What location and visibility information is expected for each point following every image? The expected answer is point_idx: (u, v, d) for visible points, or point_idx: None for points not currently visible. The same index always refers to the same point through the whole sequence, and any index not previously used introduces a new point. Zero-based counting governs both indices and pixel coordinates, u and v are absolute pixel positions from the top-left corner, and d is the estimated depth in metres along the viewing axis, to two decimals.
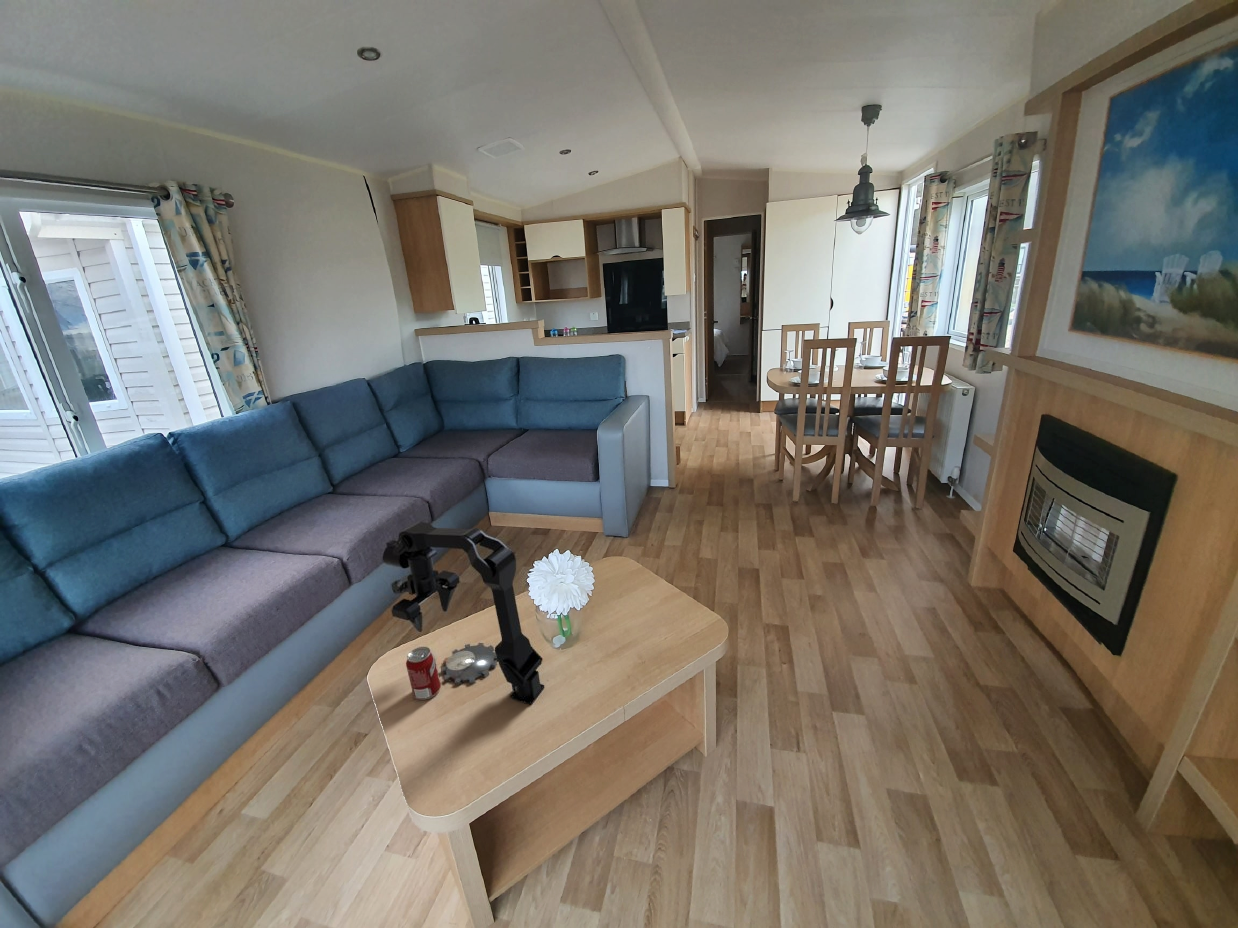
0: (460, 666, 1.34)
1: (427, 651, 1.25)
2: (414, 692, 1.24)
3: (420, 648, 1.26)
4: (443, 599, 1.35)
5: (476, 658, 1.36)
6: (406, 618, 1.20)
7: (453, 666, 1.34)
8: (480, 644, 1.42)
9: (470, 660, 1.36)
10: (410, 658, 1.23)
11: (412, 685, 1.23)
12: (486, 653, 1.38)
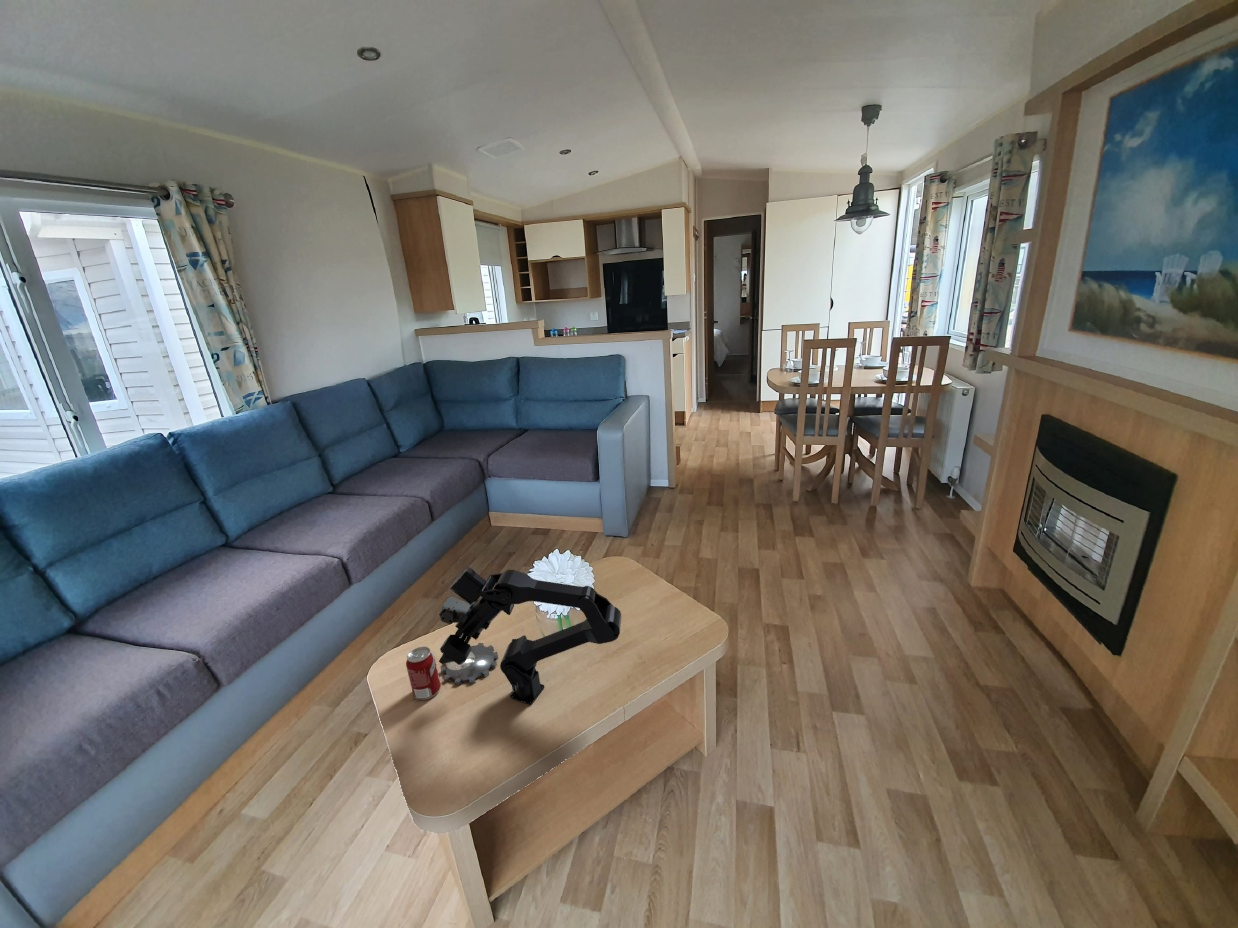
0: (460, 666, 1.34)
1: (427, 651, 1.25)
2: (414, 692, 1.24)
3: (420, 648, 1.26)
4: None
5: (476, 658, 1.36)
6: (458, 662, 1.12)
7: (453, 666, 1.34)
8: (480, 644, 1.42)
9: (470, 660, 1.36)
10: (410, 658, 1.23)
11: (412, 685, 1.23)
12: (486, 653, 1.38)
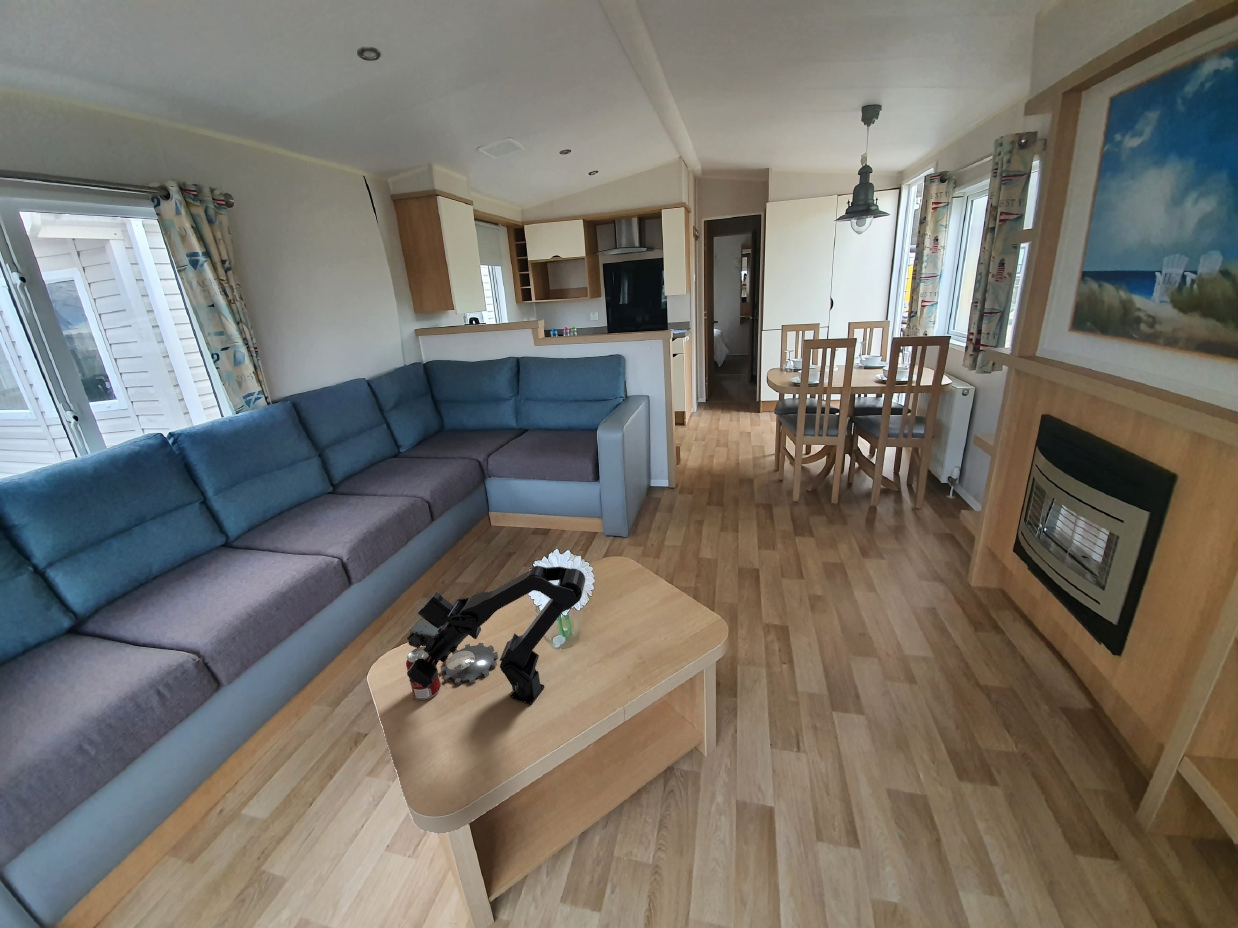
0: (460, 666, 1.34)
1: None
2: (414, 692, 1.24)
3: (420, 648, 1.26)
4: None
5: (476, 658, 1.36)
6: (425, 686, 1.15)
7: (453, 666, 1.34)
8: (480, 644, 1.42)
9: (470, 660, 1.36)
10: (410, 658, 1.23)
11: (412, 685, 1.23)
12: (486, 653, 1.38)
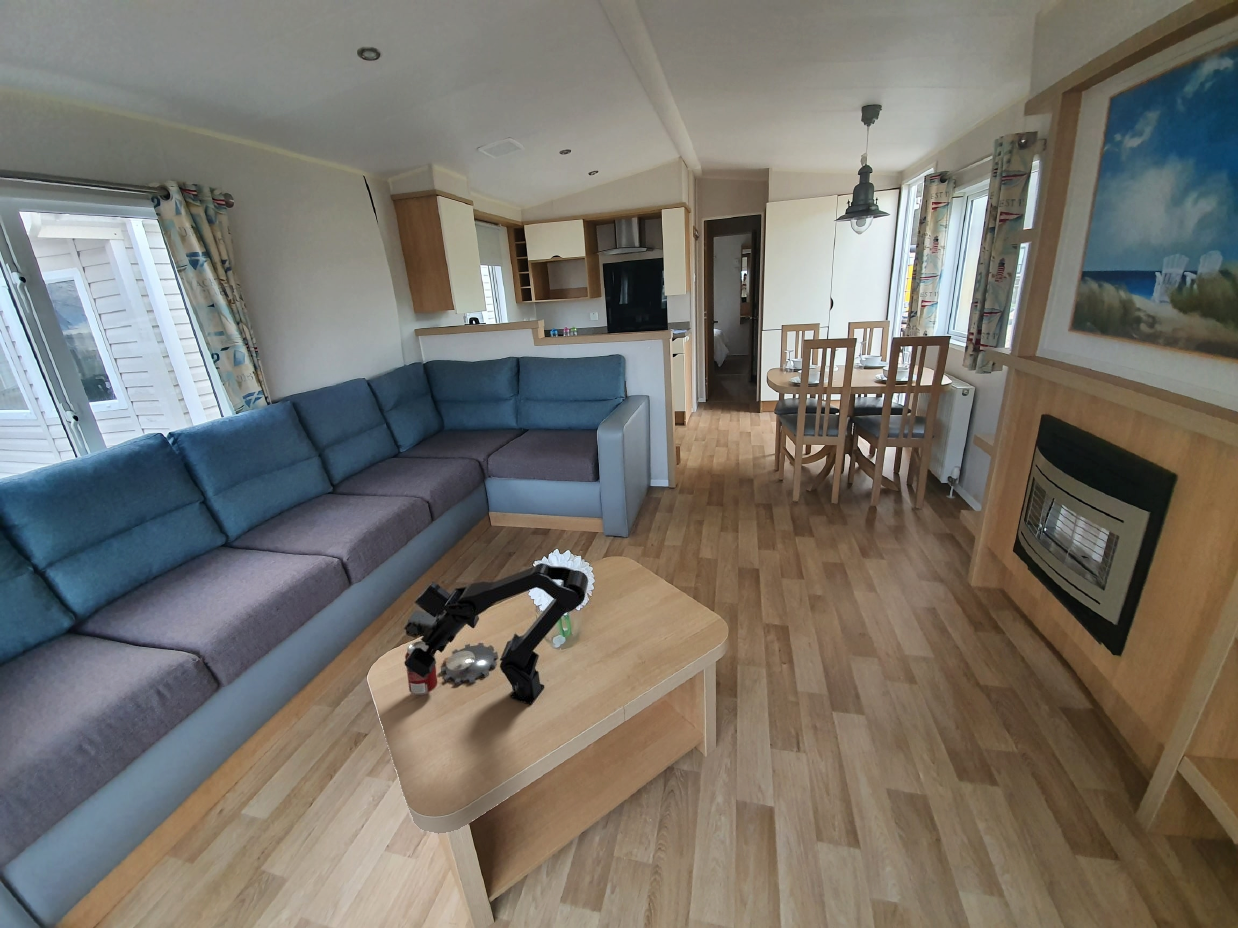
0: (460, 666, 1.34)
1: None
2: (410, 686, 1.23)
3: (421, 642, 1.25)
4: None
5: (476, 658, 1.36)
6: (423, 675, 1.14)
7: (453, 666, 1.34)
8: (480, 644, 1.42)
9: (470, 660, 1.36)
10: (410, 651, 1.22)
11: (409, 679, 1.22)
12: (486, 653, 1.38)
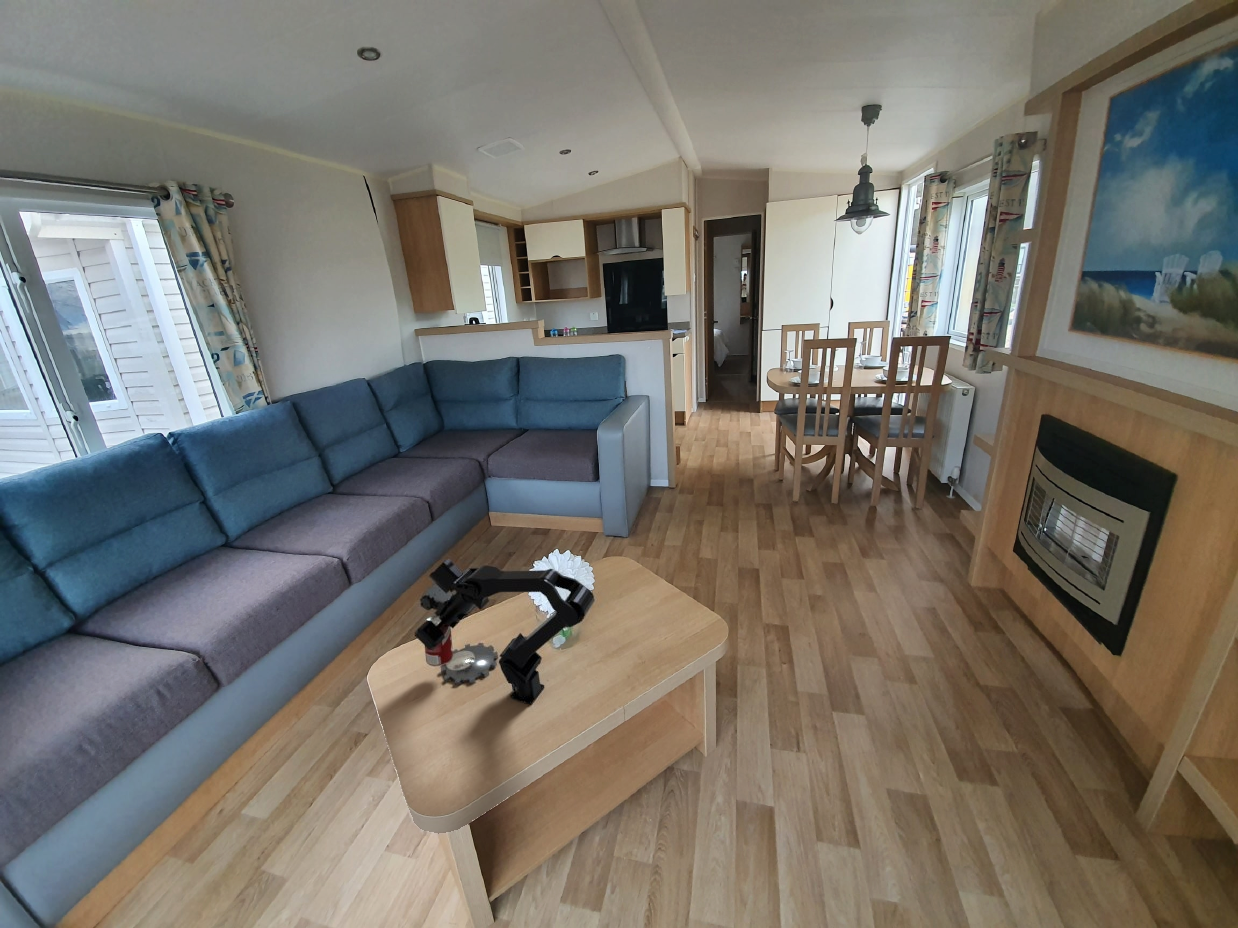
0: (460, 666, 1.34)
1: None
2: (426, 656, 1.28)
3: None
4: None
5: (476, 658, 1.36)
6: (429, 648, 1.17)
7: (453, 666, 1.34)
8: (480, 644, 1.42)
9: (470, 660, 1.36)
10: None
11: (425, 649, 1.27)
12: (486, 653, 1.38)
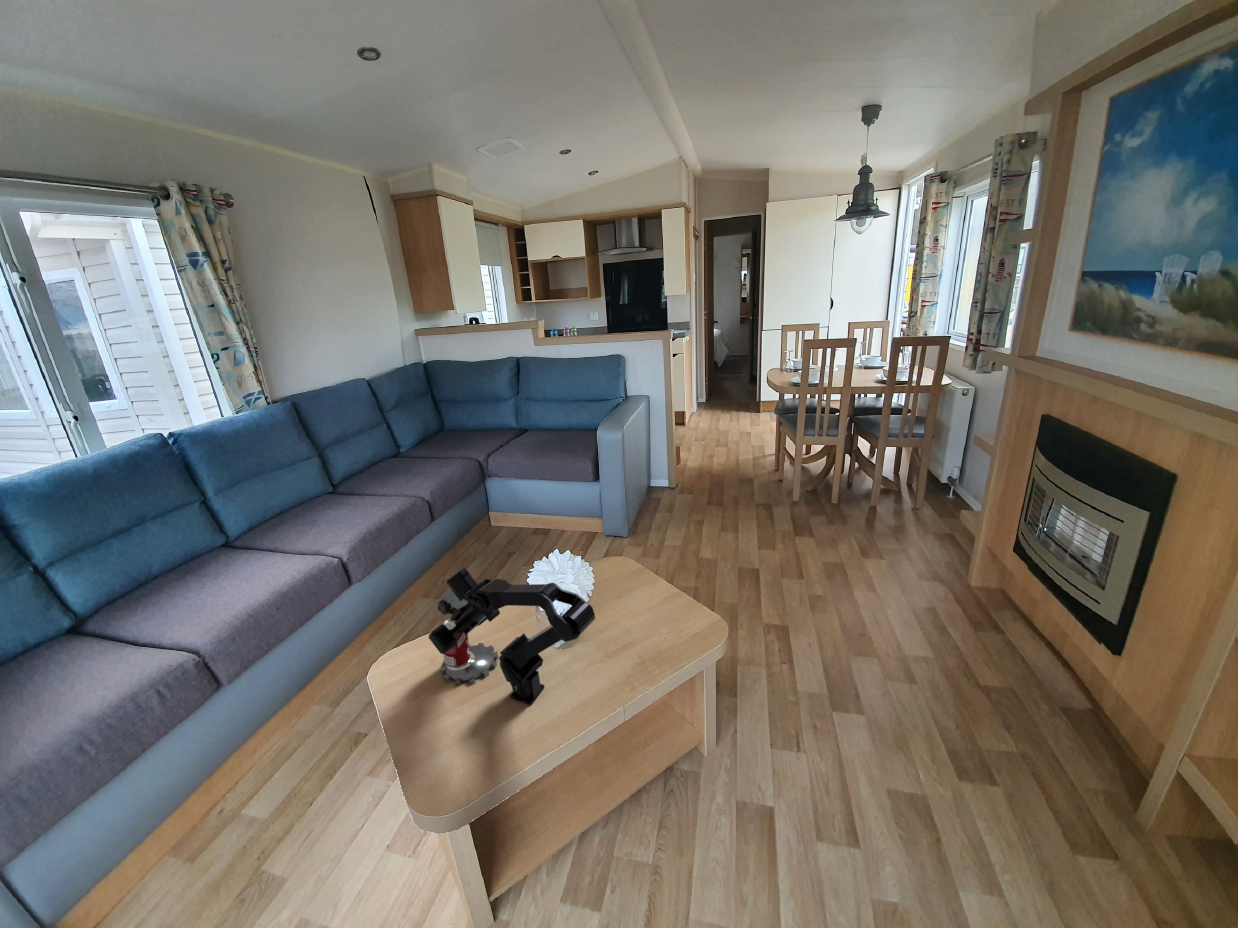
0: (460, 666, 1.34)
1: None
2: (444, 656, 1.33)
3: None
4: None
5: (476, 658, 1.36)
6: (440, 651, 1.22)
7: None
8: (480, 644, 1.42)
9: (470, 660, 1.36)
10: (446, 624, 1.32)
11: None
12: (486, 653, 1.38)
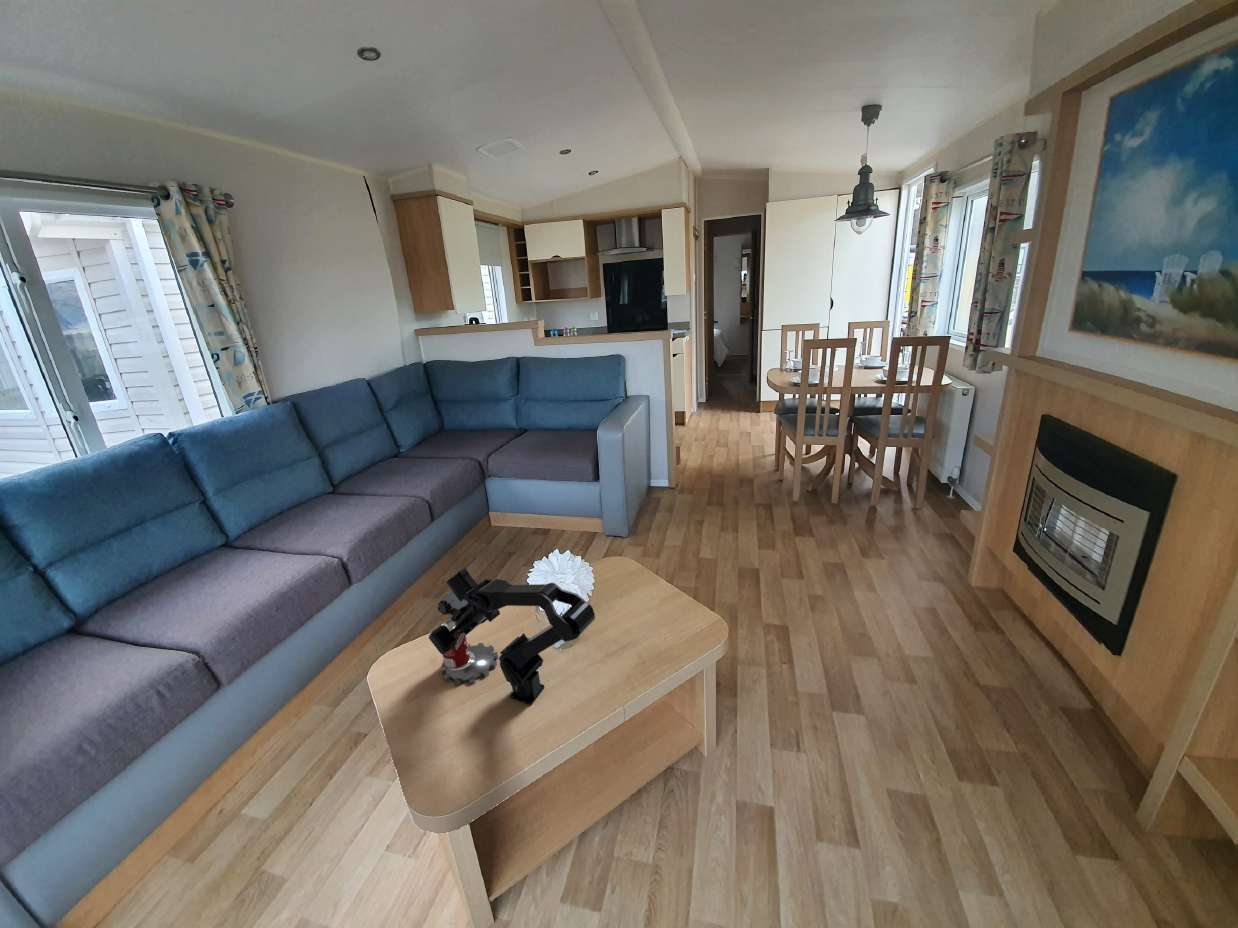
0: None
1: None
2: None
3: None
4: None
5: (476, 658, 1.36)
6: (441, 652, 1.22)
7: None
8: (480, 644, 1.42)
9: (470, 660, 1.36)
10: None
11: None
12: (486, 653, 1.38)
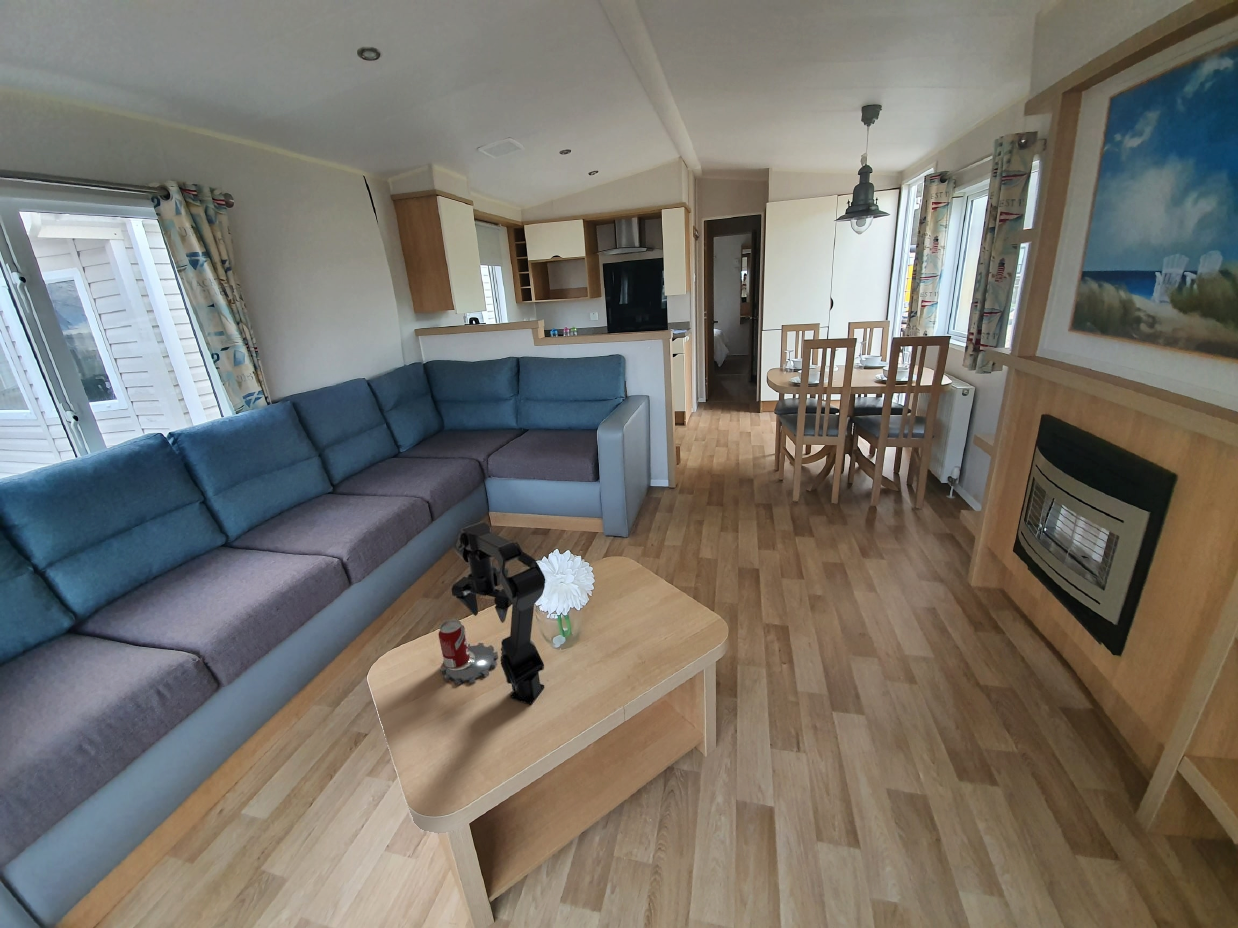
0: None
1: (458, 625, 1.32)
2: None
3: (455, 620, 1.34)
4: None
5: (476, 658, 1.36)
6: None
7: None
8: (480, 644, 1.42)
9: (470, 660, 1.36)
10: (442, 627, 1.32)
11: (442, 652, 1.33)
12: (486, 653, 1.38)
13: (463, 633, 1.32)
